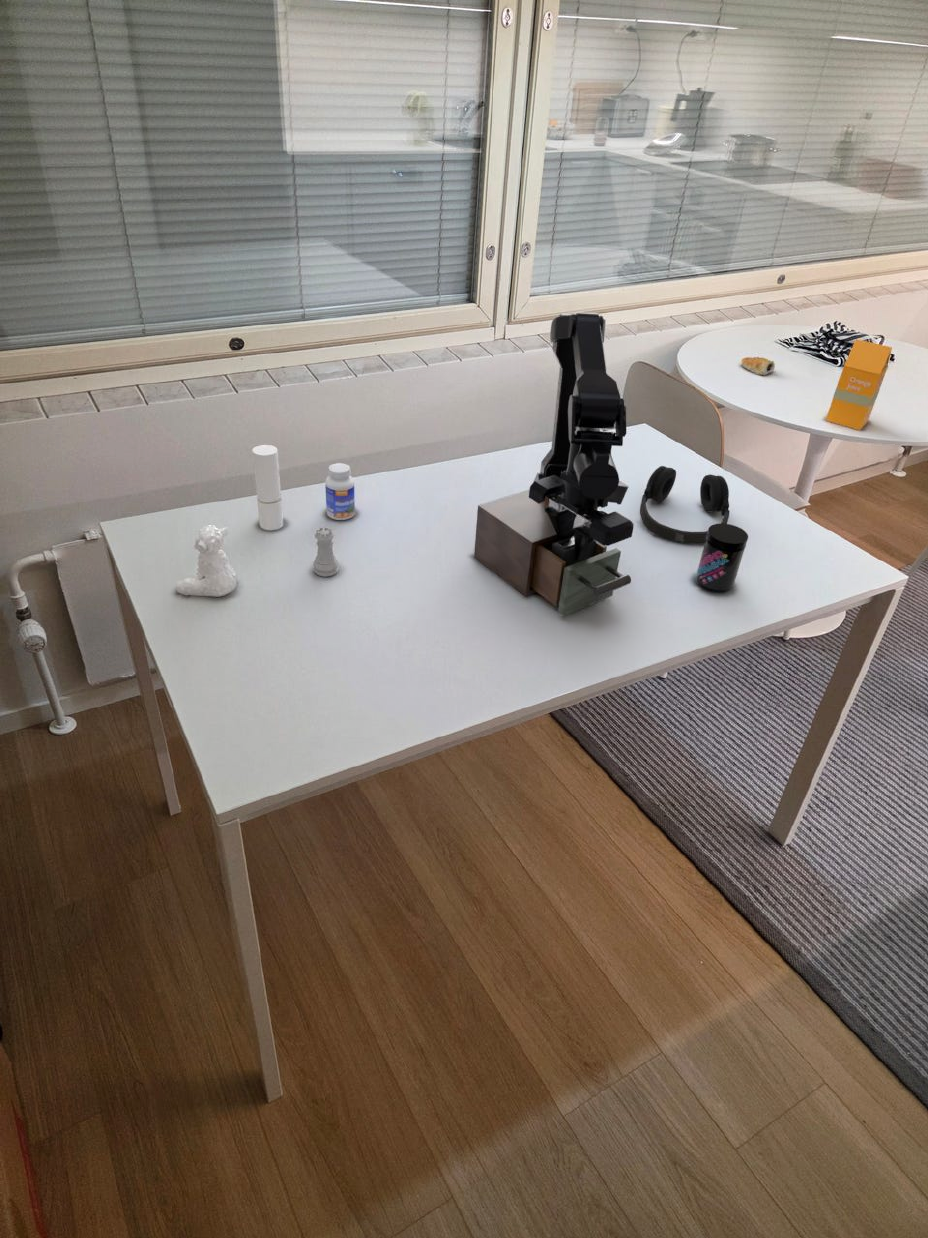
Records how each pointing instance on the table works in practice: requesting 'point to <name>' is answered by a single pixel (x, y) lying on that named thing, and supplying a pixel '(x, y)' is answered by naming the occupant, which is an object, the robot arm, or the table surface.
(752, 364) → the pastry
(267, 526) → the tube
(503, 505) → the cabinet
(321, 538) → the rook chess piece
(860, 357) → the orange juice
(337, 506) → the pill bottle
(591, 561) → the drawer
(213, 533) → the white creature statuette
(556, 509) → the robot arm
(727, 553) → the supplement container
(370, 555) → the table surface
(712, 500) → the headphones
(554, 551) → the dark box
